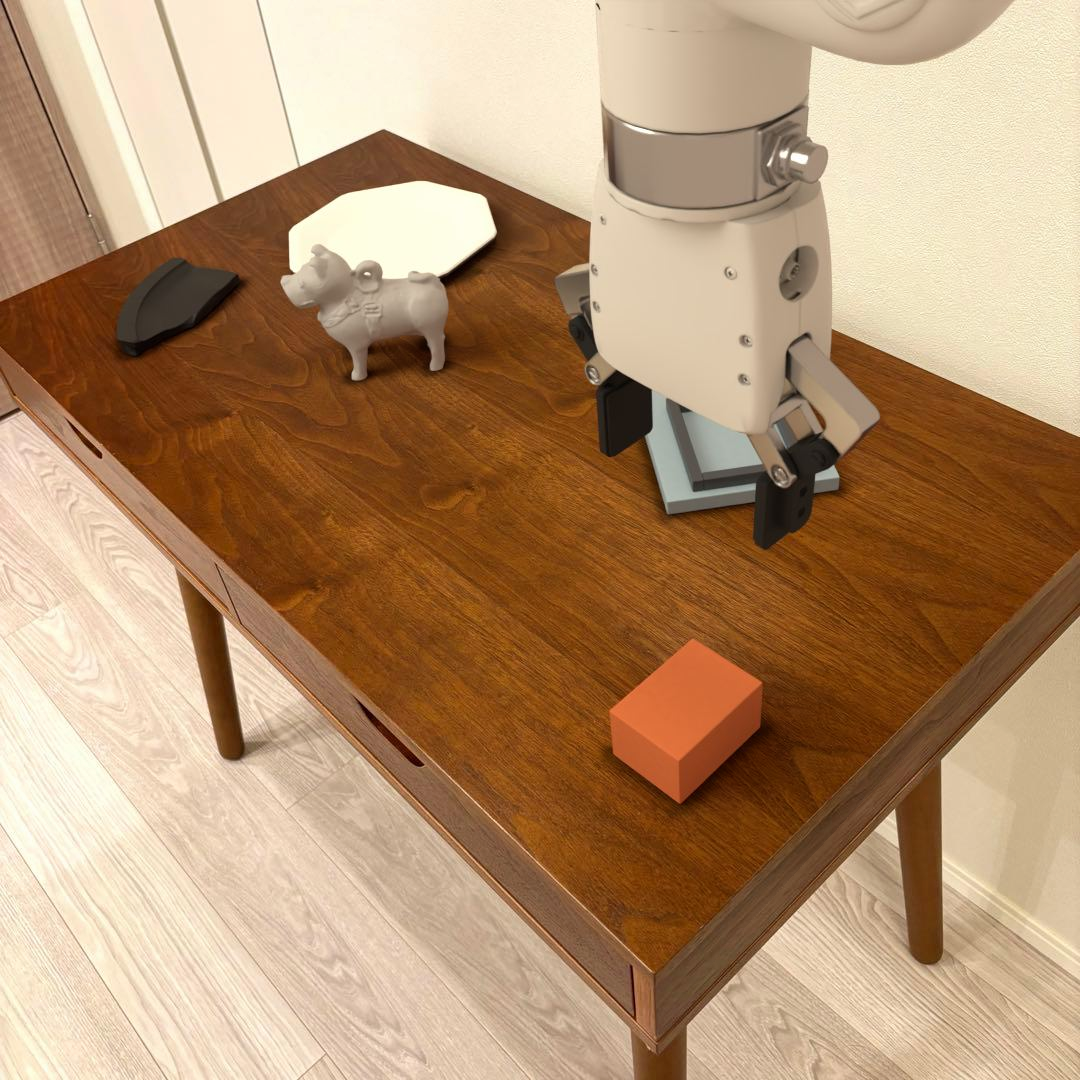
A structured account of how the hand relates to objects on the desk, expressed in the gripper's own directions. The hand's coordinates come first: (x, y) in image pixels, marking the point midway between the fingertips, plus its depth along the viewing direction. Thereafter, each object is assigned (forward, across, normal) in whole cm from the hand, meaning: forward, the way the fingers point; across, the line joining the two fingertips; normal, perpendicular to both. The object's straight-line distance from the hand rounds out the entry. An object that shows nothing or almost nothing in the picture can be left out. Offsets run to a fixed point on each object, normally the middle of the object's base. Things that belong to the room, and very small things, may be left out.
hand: (699, 485), depth 54 cm
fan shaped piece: (+18, +67, -2) cm, 69 cm away
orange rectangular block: (+17, -1, +2) cm, 18 cm away
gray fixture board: (+18, +17, -22) cm, 33 cm away
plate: (+18, +59, -22) cm, 66 cm away
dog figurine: (+18, +44, -10) cm, 48 cm away
